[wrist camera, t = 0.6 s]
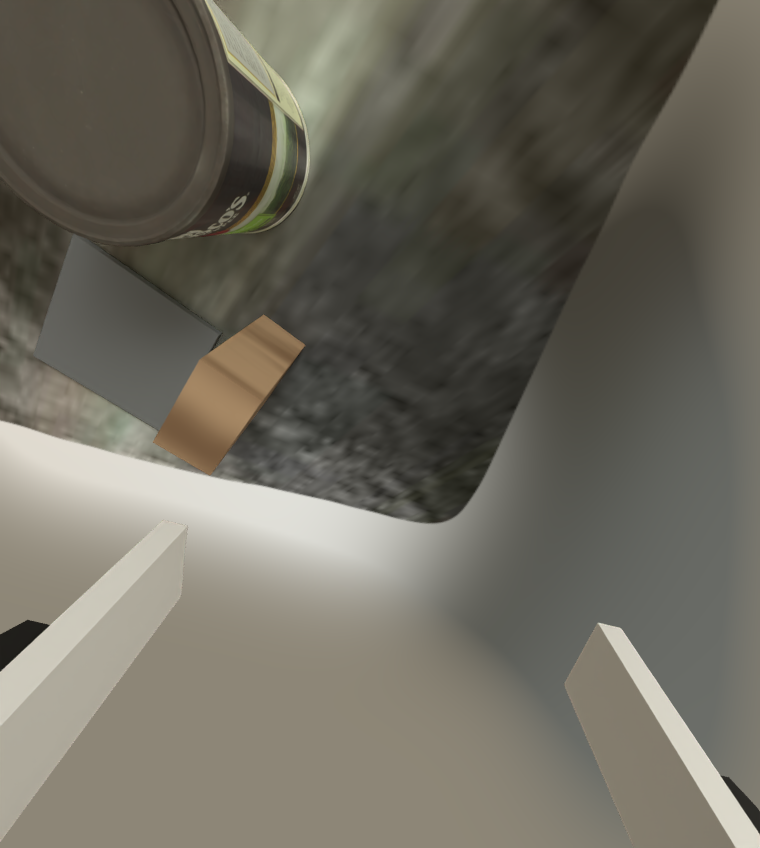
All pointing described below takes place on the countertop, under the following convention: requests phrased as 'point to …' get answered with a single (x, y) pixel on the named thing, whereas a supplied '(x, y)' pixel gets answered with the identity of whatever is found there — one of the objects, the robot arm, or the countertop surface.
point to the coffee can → (145, 121)
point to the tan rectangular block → (227, 393)
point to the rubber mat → (121, 334)
